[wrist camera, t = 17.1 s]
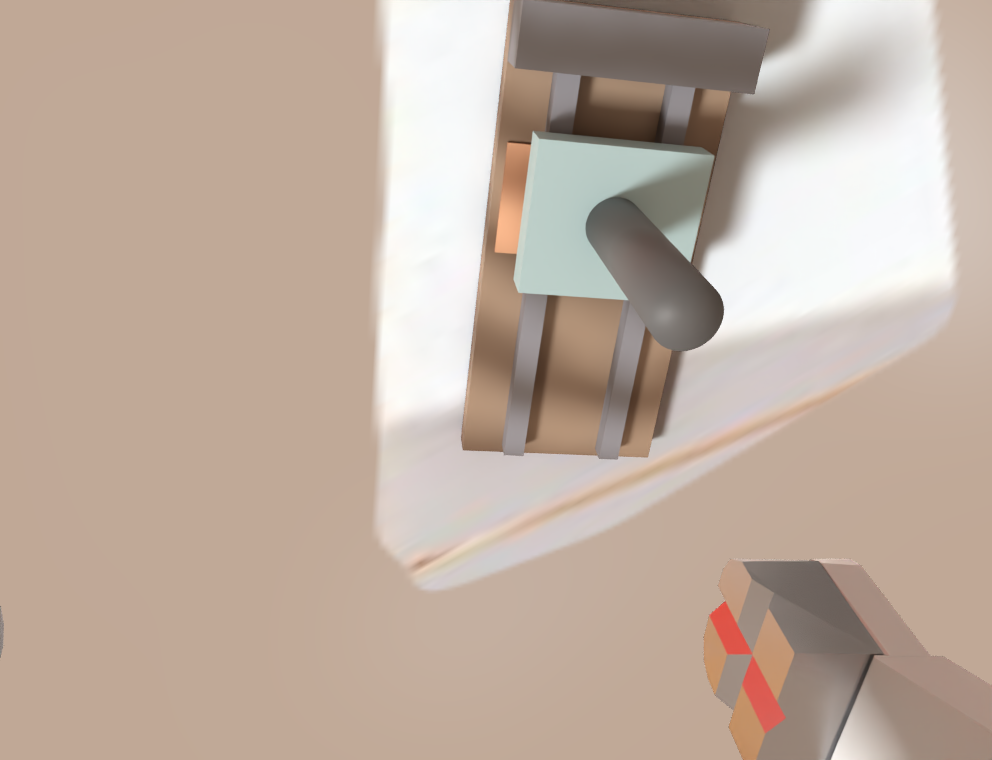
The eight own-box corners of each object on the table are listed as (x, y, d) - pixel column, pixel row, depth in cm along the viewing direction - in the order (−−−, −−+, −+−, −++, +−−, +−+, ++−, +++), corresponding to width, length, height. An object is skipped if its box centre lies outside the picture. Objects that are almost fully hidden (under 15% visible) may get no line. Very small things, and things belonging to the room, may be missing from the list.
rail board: (510, -7, 43) (523, -1, 39) (735, 21, 45) (769, 29, 41) (461, 437, 54) (466, 476, 50) (641, 445, 56) (661, 483, 52)
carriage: (532, 130, 43) (591, 206, 31) (701, 147, 45) (822, 226, 32) (513, 279, 47) (558, 400, 34) (670, 290, 48) (768, 411, 36)
